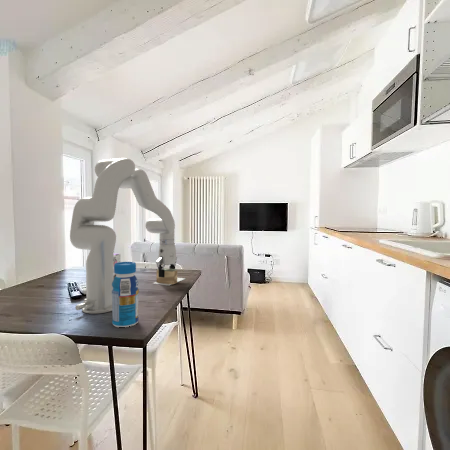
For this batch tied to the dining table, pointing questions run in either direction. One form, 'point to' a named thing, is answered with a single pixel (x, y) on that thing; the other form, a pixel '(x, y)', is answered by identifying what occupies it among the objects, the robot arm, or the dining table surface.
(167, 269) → the oak slab
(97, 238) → the robot arm
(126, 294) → the beverage bottle
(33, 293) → the dining table surface
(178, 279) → the white rectangular board
